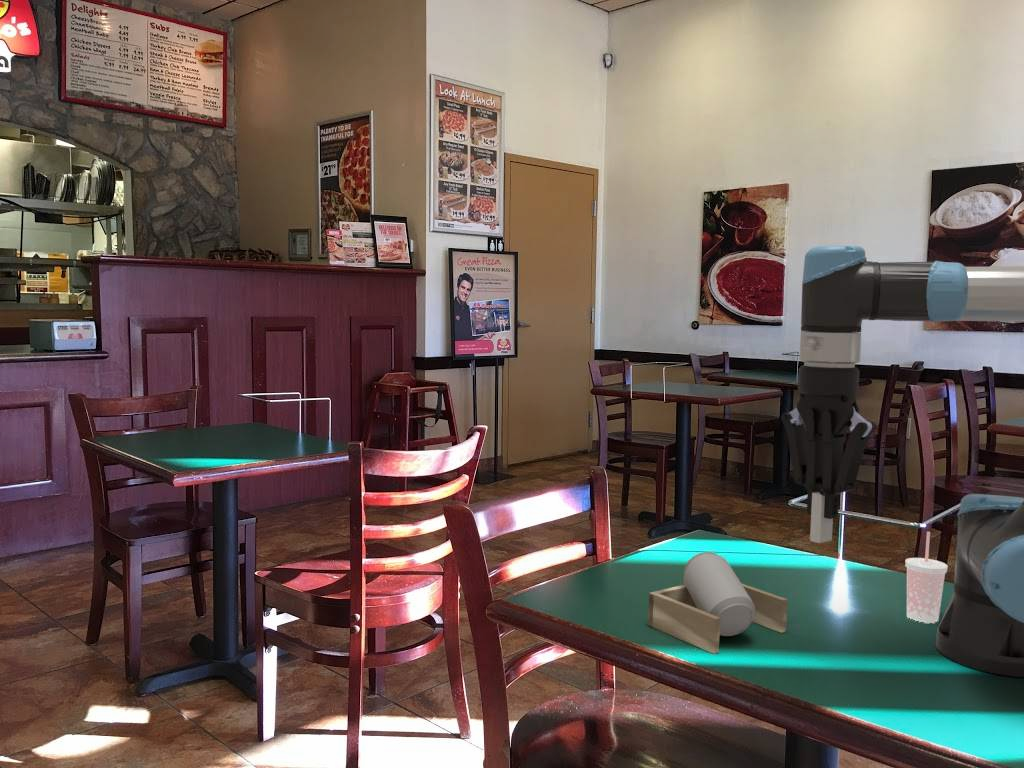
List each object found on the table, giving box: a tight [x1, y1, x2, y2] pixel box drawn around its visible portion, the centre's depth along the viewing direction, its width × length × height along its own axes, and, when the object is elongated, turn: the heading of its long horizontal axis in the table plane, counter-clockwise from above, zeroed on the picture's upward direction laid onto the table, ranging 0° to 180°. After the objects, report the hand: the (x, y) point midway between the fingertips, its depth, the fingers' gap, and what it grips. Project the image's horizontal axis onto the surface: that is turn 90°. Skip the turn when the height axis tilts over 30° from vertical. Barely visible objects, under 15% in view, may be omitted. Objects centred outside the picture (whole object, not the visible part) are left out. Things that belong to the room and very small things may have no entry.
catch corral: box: [647, 582, 788, 655], centre depth 132 cm, size 16×13×5 cm
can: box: [683, 551, 756, 637], centre depth 131 cm, size 8×8×12 cm
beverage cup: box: [904, 531, 949, 624], centre depth 139 cm, size 6×6×14 cm
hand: (820, 540), depth 117 cm, fingers closed
